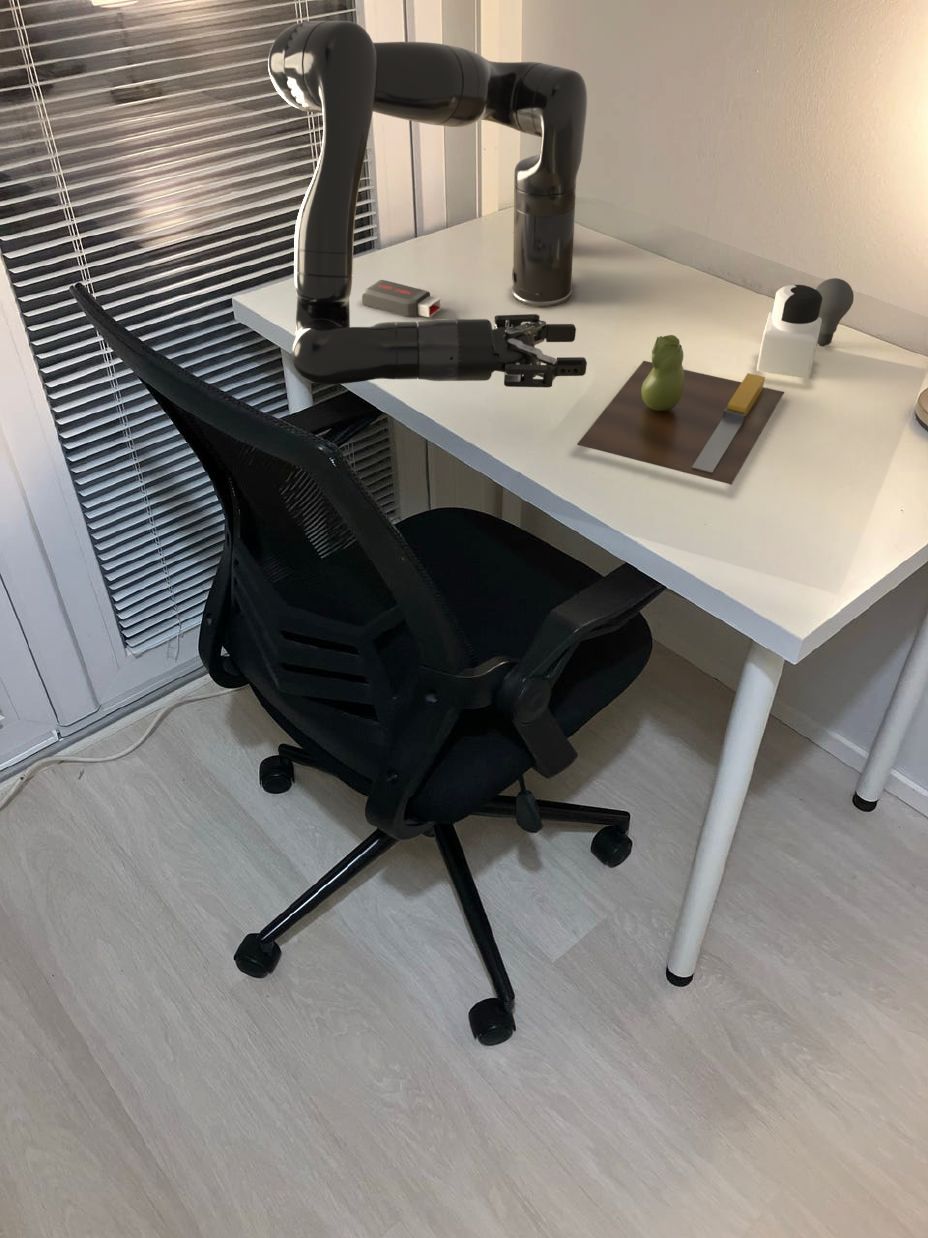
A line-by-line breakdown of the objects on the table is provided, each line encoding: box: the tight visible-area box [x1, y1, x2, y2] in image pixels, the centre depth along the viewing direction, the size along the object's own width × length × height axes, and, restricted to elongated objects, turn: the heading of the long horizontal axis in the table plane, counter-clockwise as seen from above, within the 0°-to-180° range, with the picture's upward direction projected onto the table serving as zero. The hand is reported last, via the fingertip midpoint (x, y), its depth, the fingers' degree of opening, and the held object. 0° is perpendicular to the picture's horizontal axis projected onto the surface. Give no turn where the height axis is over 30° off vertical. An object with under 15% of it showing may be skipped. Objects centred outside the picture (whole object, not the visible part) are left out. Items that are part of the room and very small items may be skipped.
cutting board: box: [576, 360, 785, 485], centre depth 137 cm, size 24×20×2 cm
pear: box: [641, 334, 685, 411], centre depth 135 cm, size 6×5×10 cm
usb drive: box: [361, 279, 441, 318], centre depth 165 cm, size 5×12×3 cm, turn 59°
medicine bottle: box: [756, 284, 822, 379], centre depth 144 cm, size 7×7×12 cm
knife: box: [692, 372, 766, 474], centre depth 134 cm, size 22×3×2 cm, turn 152°
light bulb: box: [815, 277, 855, 347], centre depth 150 cm, size 6×6×10 cm
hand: (580, 349), depth 133 cm, fingers open, 8 cm apart
